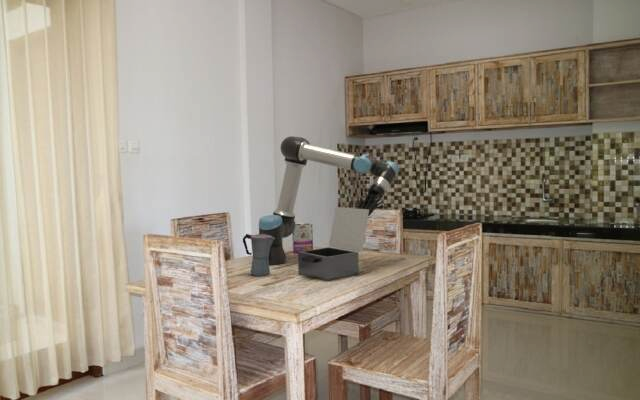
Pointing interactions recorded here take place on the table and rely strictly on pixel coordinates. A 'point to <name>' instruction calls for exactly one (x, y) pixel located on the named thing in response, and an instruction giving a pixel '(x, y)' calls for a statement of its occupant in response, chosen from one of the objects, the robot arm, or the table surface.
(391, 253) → the table surface
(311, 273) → the dark grey storage box
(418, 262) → the table surface
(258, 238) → the moka pot
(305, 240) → the candy bar box
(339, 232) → the grey box lid
